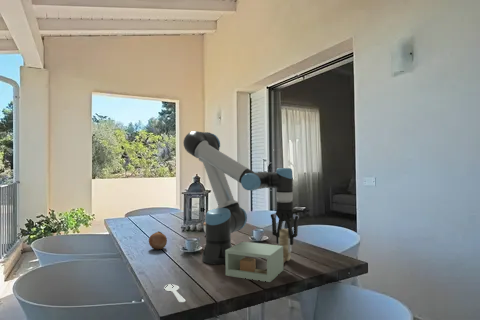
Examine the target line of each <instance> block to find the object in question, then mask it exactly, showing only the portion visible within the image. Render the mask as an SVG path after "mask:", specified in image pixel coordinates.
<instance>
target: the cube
mask: <svg viewBox="0 0 480 320" xmlns="http://www.w3.org/2000/svg"><path fill="white" fill-rule="evenodd" d="M256 261H257V260H256V258H255V257H247V256H245V258H243V259H241V260H240V268H239V270H241V271H248V272H255V269H257V266H256V263H257V262H256Z"/></svg>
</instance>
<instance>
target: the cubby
mask: <svg viewBox="0 0 480 320" xmlns="http://www.w3.org/2000/svg"><path fill="white" fill-rule="evenodd" d="M245 257H251V258H262V259H266V269H267V274H262V273H255V271H254V272H248V271H241V270H240V260H241V259H243V258H245ZM283 271H284V263H283V246H280V245H278V244H267V243H259V242H250V241H241V242H238V243H237V244H235V245H232V247H231V248H229V249H227V250H225V276H228V277H233V278H240V279H241V278H242V279H245V278H246V279H247V280H252V279H253V280H254V281H258V280H260V281H259V282H265V281H266V283H271V282H272V281H273V280H274V279H275V278H276V277H277V276H278V274H279V275H280V274H281V273H282V272H283ZM246 279H245V280H246ZM253 280H252V281H253Z"/></svg>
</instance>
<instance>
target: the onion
mask: <svg viewBox="0 0 480 320" xmlns="http://www.w3.org/2000/svg"><path fill="white" fill-rule="evenodd" d="M167 242H168V239H167V236H166V235H165V234H164V233H163V232H162V231H157V232H155V233H152V234H151V235H150V236H149V238H148V244H149V246H150V247H151V248H152V250H155V251H158V250H159V249H160V250H162V249H164V248H165V247H166V245H167V244H168V243H167Z"/></svg>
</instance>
